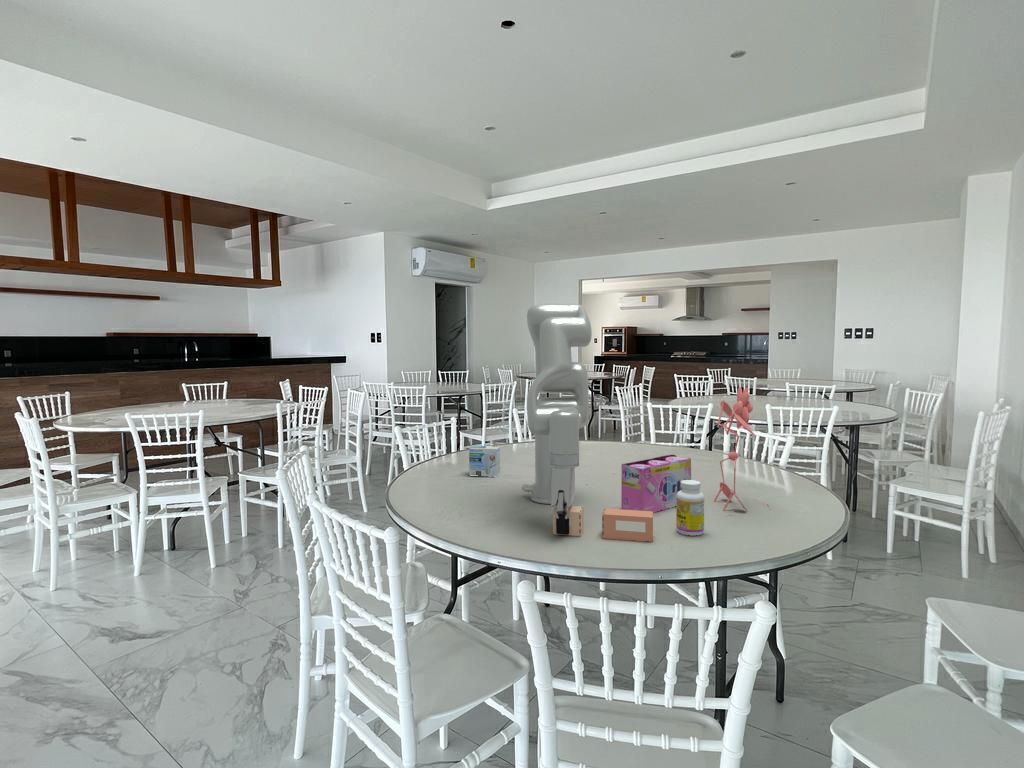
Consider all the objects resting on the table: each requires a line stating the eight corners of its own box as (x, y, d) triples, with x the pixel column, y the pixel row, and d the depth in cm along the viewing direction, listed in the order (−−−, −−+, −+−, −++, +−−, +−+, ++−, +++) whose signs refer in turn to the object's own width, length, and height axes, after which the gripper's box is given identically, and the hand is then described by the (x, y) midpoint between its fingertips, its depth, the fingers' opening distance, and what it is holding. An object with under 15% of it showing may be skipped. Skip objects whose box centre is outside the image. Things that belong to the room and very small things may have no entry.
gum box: (673, 496, 169) (673, 453, 168) (695, 502, 163) (695, 457, 162) (620, 510, 155) (620, 463, 155) (641, 517, 149) (641, 468, 148)
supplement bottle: (672, 528, 139) (672, 479, 138) (697, 527, 140) (697, 478, 139) (682, 537, 132) (682, 485, 132) (708, 536, 133) (709, 484, 132)
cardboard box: (602, 538, 132) (602, 513, 132) (604, 531, 137) (604, 507, 137) (652, 542, 129) (652, 517, 129) (652, 535, 134) (653, 511, 134)
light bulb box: (468, 477, 198) (468, 448, 198) (473, 473, 205) (472, 444, 204) (497, 478, 196) (497, 448, 196) (500, 473, 203) (500, 445, 202)
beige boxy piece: (553, 534, 136) (552, 510, 135) (556, 527, 140) (556, 504, 140) (580, 536, 134) (580, 512, 133) (583, 529, 139) (583, 506, 138)
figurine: (729, 519, 146) (734, 389, 143) (703, 494, 171) (707, 384, 169) (788, 521, 144) (794, 390, 142) (753, 495, 170) (758, 384, 168)
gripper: (555, 452, 145) (555, 518, 146) (542, 465, 129) (543, 540, 130) (583, 453, 143) (583, 520, 145) (574, 467, 127) (574, 542, 128)
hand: (564, 529), depth 137 cm, fingers closed on beige boxy piece, 5 cm apart
